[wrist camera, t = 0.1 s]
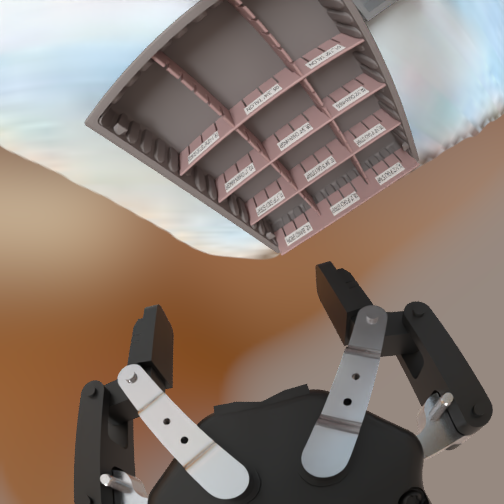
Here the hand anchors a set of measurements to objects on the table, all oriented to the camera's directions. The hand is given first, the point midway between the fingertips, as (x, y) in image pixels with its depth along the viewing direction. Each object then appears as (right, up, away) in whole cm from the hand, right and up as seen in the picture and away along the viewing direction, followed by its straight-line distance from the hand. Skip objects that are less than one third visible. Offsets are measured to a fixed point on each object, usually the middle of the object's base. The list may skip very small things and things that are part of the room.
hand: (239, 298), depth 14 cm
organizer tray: (+4, +24, +24) cm, 34 cm away
